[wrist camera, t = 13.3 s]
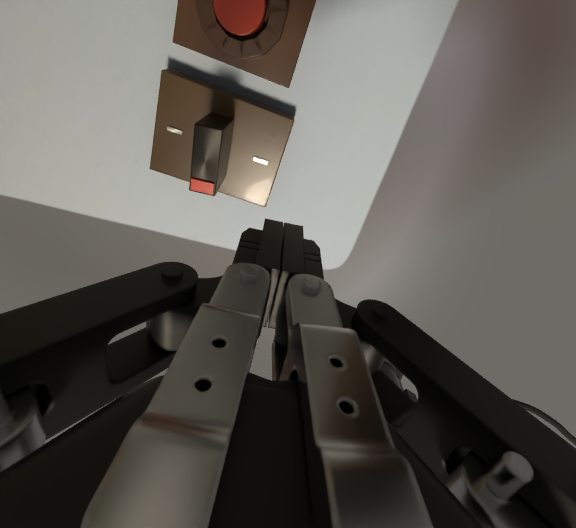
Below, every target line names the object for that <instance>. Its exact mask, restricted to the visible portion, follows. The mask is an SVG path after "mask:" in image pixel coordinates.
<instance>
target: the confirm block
mask: <svg viewBox="0 0 576 528" xmlns="http://www.w3.org/2000/svg"><path fill="white" fill-rule="evenodd" d="M315 2H316V0H266V4H267V11H266V17H265V20H264V22H263V24H262V26H261V27H260V29H259V30H258V31H257V32H255V33H254V34H252V35H249V36H238V35H235V34H232V33H230V32H229V31H227V30H226V29H225V28H224V27H223V26H222V25H221V24H220V22H219V21H218V19H217V17H216V14H215V11H214V6H213V0H178V6H177V14H176V21H175V29H174V36H173V42H174V43H176V44H179V45H181V46H184V47H186V48H189V49H191V50H194V51H196V52H199V53H201V54H204V55H206V56H209V57H211V58H214V59H216V60H219V61H222V62H224V63H227V64H229V65H232V66H234V67H237V68H239V69H242V70H244V71H247V72H249V73H252V74H254V75H257V76H259V77H262V78H264V79H267V80H269V81H272V82H274V83H277V84H279V85H282V86H284V87H287V88H289V86H290V83H291V80H292V76H293V73H294V70H295V67H296V63H297V60H298V57H299V54H300V51H301V47H302V44H303V41H304V38H305V34H306V31H307V28H308V25H309V22H310V18H311V15H312V12H313V9H314V5H315Z"/></svg>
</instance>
